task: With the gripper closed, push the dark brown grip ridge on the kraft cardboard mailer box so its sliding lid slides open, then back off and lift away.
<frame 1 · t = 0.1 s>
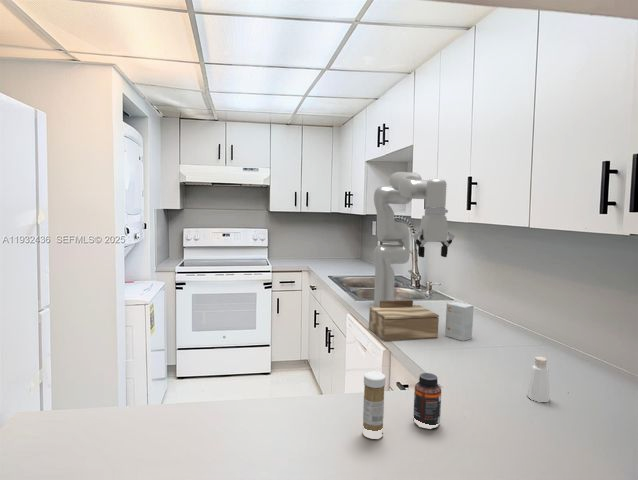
hand: (432, 256, 159), 31 cm above the worktop, fingers open, 9 cm apart
sprinkles bottle: (372, 436, 89), on the worktop
mailer box: (402, 333, 164), on the worktop
small box: (458, 337, 161), on the worktop
mailer lid: (403, 308, 163), point 10 cm above the worktop, slide at 0.0 cm
supplement bottle: (426, 424, 95), on the worktop
pepper shaker: (538, 399, 109), on the worktop
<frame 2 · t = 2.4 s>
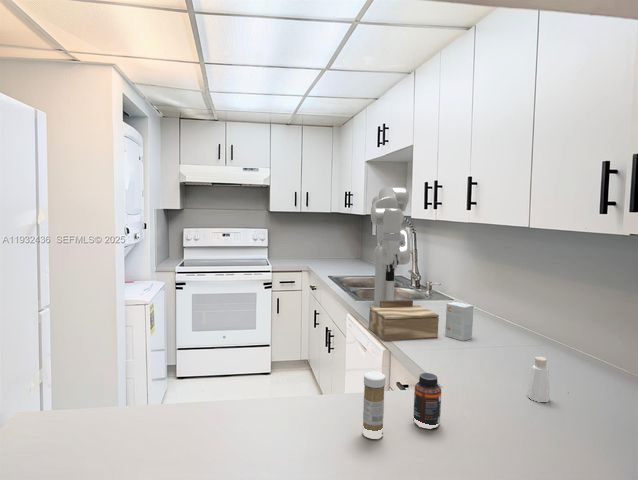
hand: (389, 280, 175), 19 cm above the worktop, fingers closed
nothing on the worktop moved.
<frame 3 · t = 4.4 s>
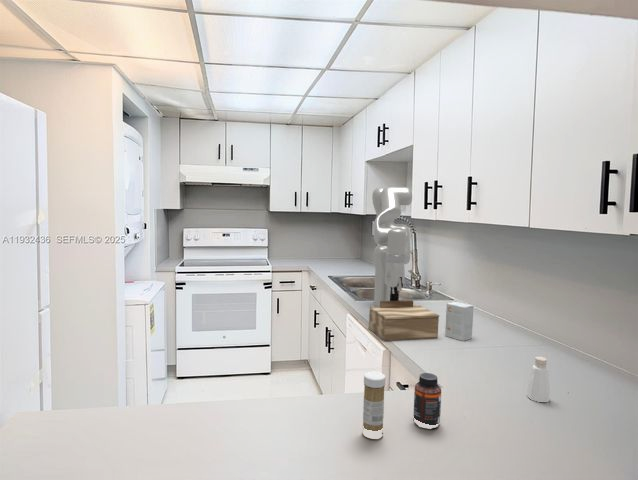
hand: (394, 302, 171), 10 cm above the worktop, fingers closed
mailer lid: (403, 308, 163), point 10 cm above the worktop, slide at 0.4 cm, touching gripper
everything else where it was.
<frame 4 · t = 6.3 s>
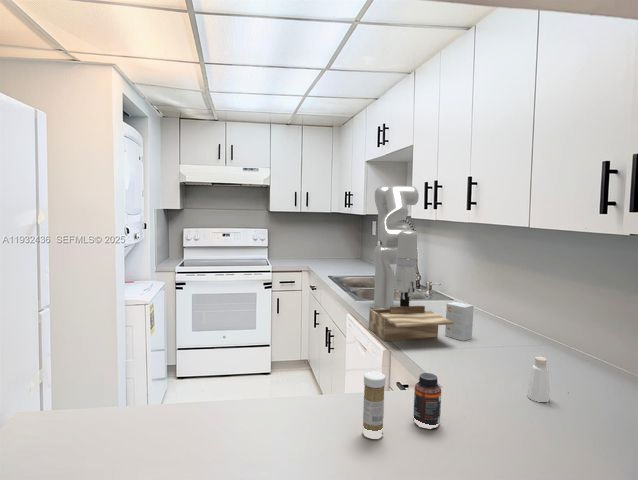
hand: (404, 308, 162), 10 cm above the worktop, fingers closed
mailer lid: (415, 315, 153), point 10 cm above the worktop, slide at 10.0 cm, touching gripper
everything else where it was.
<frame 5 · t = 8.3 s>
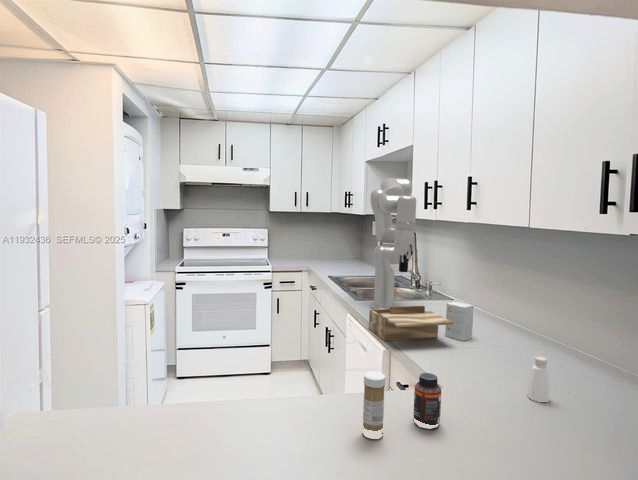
hand: (403, 271, 168), 24 cm above the worktop, fingers closed
mailer lid: (415, 315, 153), point 10 cm above the worktop, slide at 10.0 cm
everything else where it was.
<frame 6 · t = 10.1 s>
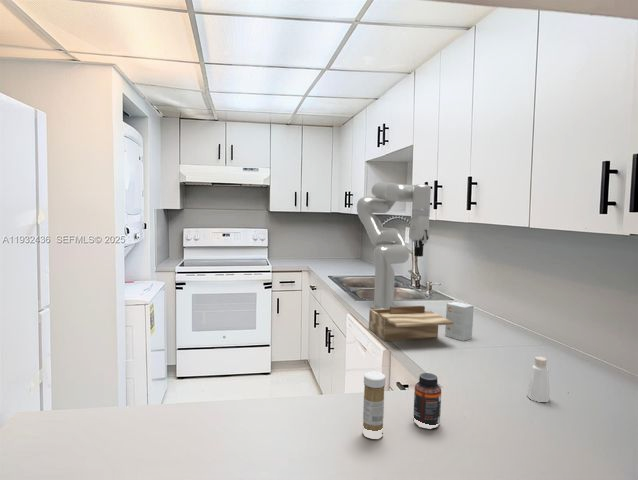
hand: (418, 256, 178), 29 cm above the worktop, fingers closed
nothing on the worktop moved.
at the end: mailer lid slide at 10.0 cm; small box moved 0.2 cm from its start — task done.
